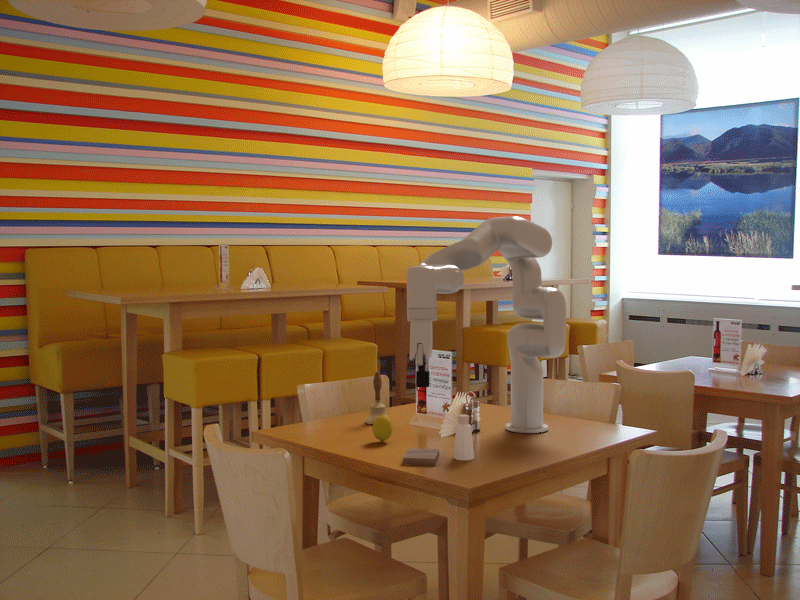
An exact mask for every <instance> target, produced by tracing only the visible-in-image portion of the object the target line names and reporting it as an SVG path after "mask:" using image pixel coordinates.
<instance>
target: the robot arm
mask: <svg viewBox="0 0 800 600" xmlns="http://www.w3.org/2000/svg"><path fill="white" fill-rule="evenodd" d="M552 246H553V239H552V236H551V233H550V232H549V231H548V229H546V228H545V227H543V226H541V225H539V224H537V223H535V222H532V221H531V220H529V219H526V218H523V217H520V216H498V217H491V218H487V219H486V220H484V221H483V222H481V223H480V224H479V225H477V227H475V228H474V229H473V230H472V231H471V232H470V233H468V234H467V235H466V236H465V237H463V238H462V239H461V240H459V241H457V242H454V243H452V244H450V245H447V246H445V247H444V248H441V249H439V250H437V251H435V252H433V253H431V254H430V255H428V256H427V257H425V259H423V260H422V261H421V262H420V263H419V264H418V265H413V266H410V267H408V268H407V269H406V320H407V322H410V329H409V331H410V332H409V360H410V361H414V360H415V362H416V364H415V366H416V371H415V382H416V383H415V385H416V388H429V386H430V370H429V367H430V364H429V363H430V359H431V357H432V356H433V338H434V337H433V322H435V321H437V320H438V317H437V316H438V311H437V310H438V309H437V307H438V306H437V301H438V300H437V297H438V296H437V295H438V294H439V295H440V294H443V295H445V294H446V295H448V294H449V295H450V294H454V293H457V292H459V290H460V291H461V289H462V287H463V285H464V283H465V277H464V273H463V271H468V270H471V269H474V268H477V267H480V266H481V265H482V264H484V263H485V262H486V261H487V260H489V258H490V257H491V256H492V255H494V254H495V253H496V252H497V251H498V253H500V255H501V256H502V257H503V258H504V259H505V260H506V262H507V263H508V265H509V266H510V269H511V274H512V275H511V276H512V277H511V278H512V311H513V314H514V315H515V316H516V317H517V318H519V319H524V320H538V321H539V320H540V321H542V322H543V324H539V323H517V324H514V326H512V327H511V328H510V329H509V331H508V332H507V339H506V341H507V348H508V352H509V361H510V422H507V423H505V429H506V430H507V431H508V432H513V433H519V434H539V433H540V432H541V433H544V432H547V431H549V425H548V424H546V423H544V370H543V369H544V368H543V366H542V363H541V362H540V359H539V358H548V359H549V358H550V359H555V358H557V357H560V356H561V355H562V354H563V353H564V352H565V349H566V345H567V344H566V343H567V302H566V298H565V296H564V294H563V292H562V291H561V290H560V289H558V288H556V287H545V286H543V284H542V283H543V282H542V270H541V269H542V267H541V266H540V263H539V262H538V260H537V258H539V259H540V258H544V257H546V256H548V255H549V253H550V252H551V250H552Z"/></svg>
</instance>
